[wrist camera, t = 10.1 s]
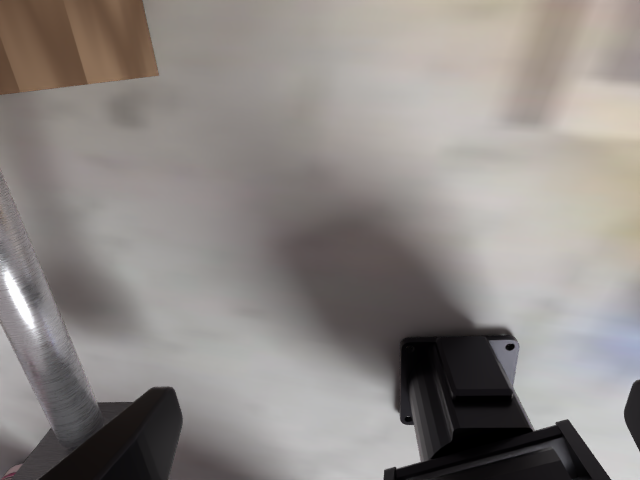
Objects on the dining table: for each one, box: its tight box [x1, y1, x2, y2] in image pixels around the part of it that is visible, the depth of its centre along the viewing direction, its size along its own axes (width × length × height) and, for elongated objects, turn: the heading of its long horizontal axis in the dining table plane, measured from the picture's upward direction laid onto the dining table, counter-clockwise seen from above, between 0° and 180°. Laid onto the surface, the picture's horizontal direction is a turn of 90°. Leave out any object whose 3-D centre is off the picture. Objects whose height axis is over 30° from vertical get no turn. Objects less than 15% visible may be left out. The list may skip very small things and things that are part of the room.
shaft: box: [0, 169, 133, 480], centre depth 15 cm, size 20×4×4 cm, turn 4°
